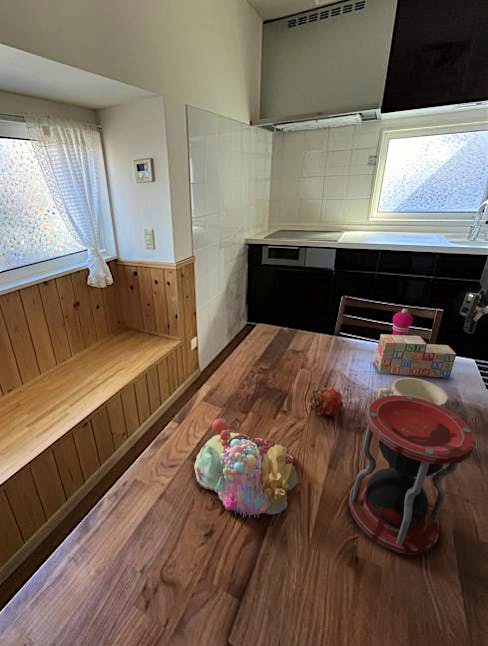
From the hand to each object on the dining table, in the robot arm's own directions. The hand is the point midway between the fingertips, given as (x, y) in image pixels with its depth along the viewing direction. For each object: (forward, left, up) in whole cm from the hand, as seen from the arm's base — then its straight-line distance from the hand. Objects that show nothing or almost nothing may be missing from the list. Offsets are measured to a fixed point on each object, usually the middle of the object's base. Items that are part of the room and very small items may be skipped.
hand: (484, 330), depth 83 cm
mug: (+10, -5, -28) cm, 30 cm away
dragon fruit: (+34, +2, -28) cm, 44 cm away
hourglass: (+25, +34, -28) cm, 51 cm away
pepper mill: (+6, -33, -28) cm, 44 cm away
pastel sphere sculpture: (+56, +29, -28) cm, 69 cm away
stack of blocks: (+3, -25, -28) cm, 38 cm away
